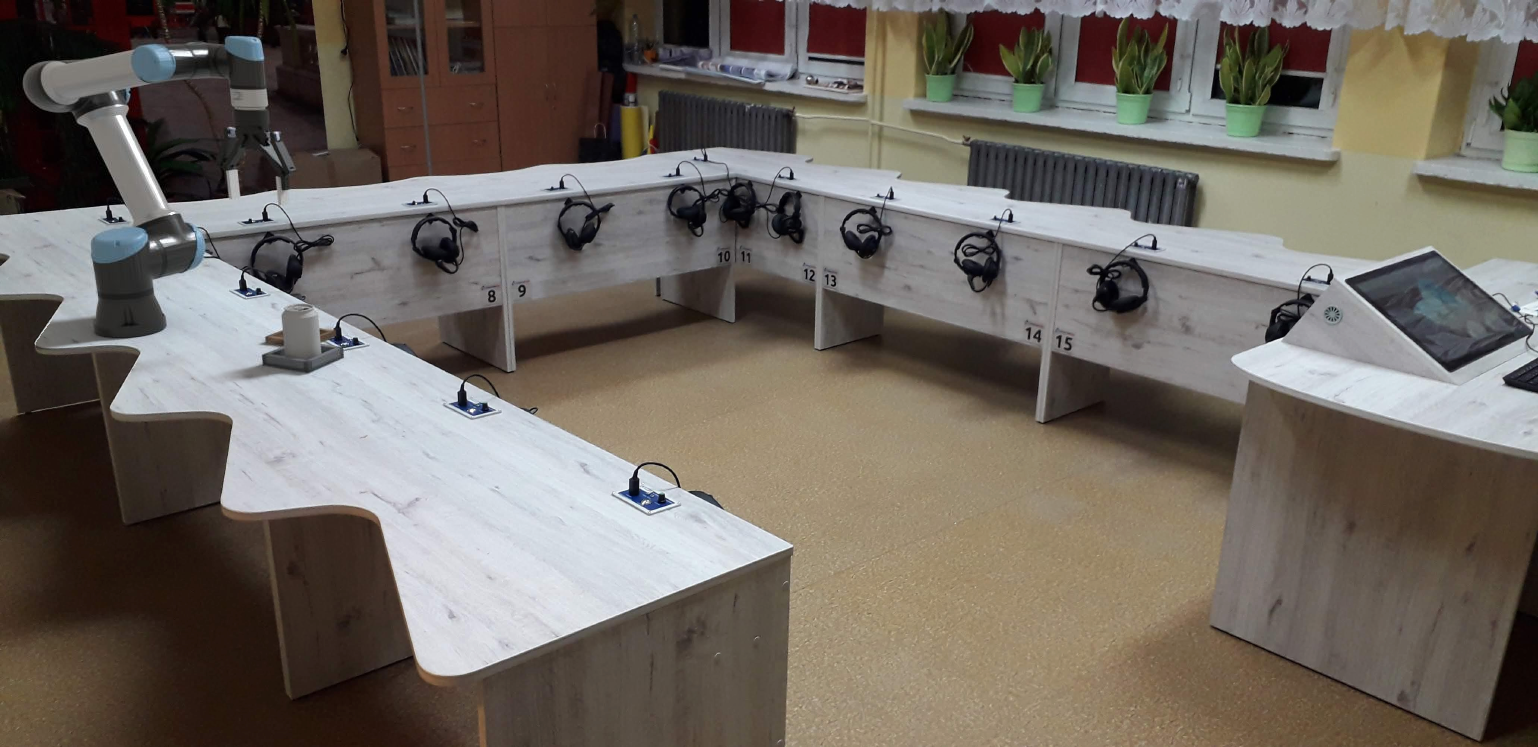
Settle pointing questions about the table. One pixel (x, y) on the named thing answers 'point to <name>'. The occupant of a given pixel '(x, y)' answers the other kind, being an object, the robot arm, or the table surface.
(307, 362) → the tray
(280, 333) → the frame
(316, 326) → the can
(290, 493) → the table surface
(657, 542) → the table surface
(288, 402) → the table surface
